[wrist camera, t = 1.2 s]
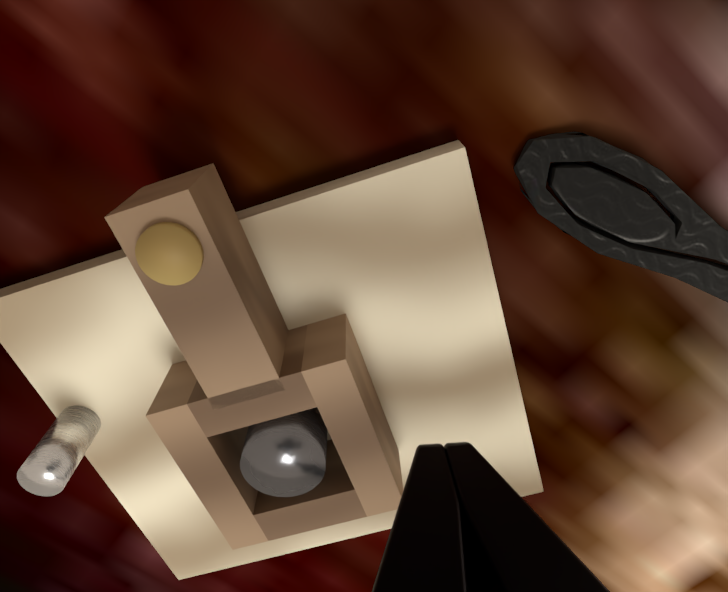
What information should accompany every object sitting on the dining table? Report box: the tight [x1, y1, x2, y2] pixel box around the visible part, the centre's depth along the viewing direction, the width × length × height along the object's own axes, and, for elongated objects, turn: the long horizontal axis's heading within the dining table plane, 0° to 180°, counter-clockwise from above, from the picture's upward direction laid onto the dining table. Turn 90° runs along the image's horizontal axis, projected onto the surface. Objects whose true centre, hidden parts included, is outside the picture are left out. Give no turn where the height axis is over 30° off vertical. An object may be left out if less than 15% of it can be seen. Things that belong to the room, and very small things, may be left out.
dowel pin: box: [17, 405, 101, 496], centre depth 20 cm, size 2×2×3 cm
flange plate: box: [105, 163, 403, 550], centre depth 19 cm, size 14×7×3 cm, turn 18°
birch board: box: [0, 140, 544, 580], centre depth 22 cm, size 16×18×1 cm
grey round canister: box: [240, 407, 328, 497], centre depth 21 cm, size 3×3×4 cm
